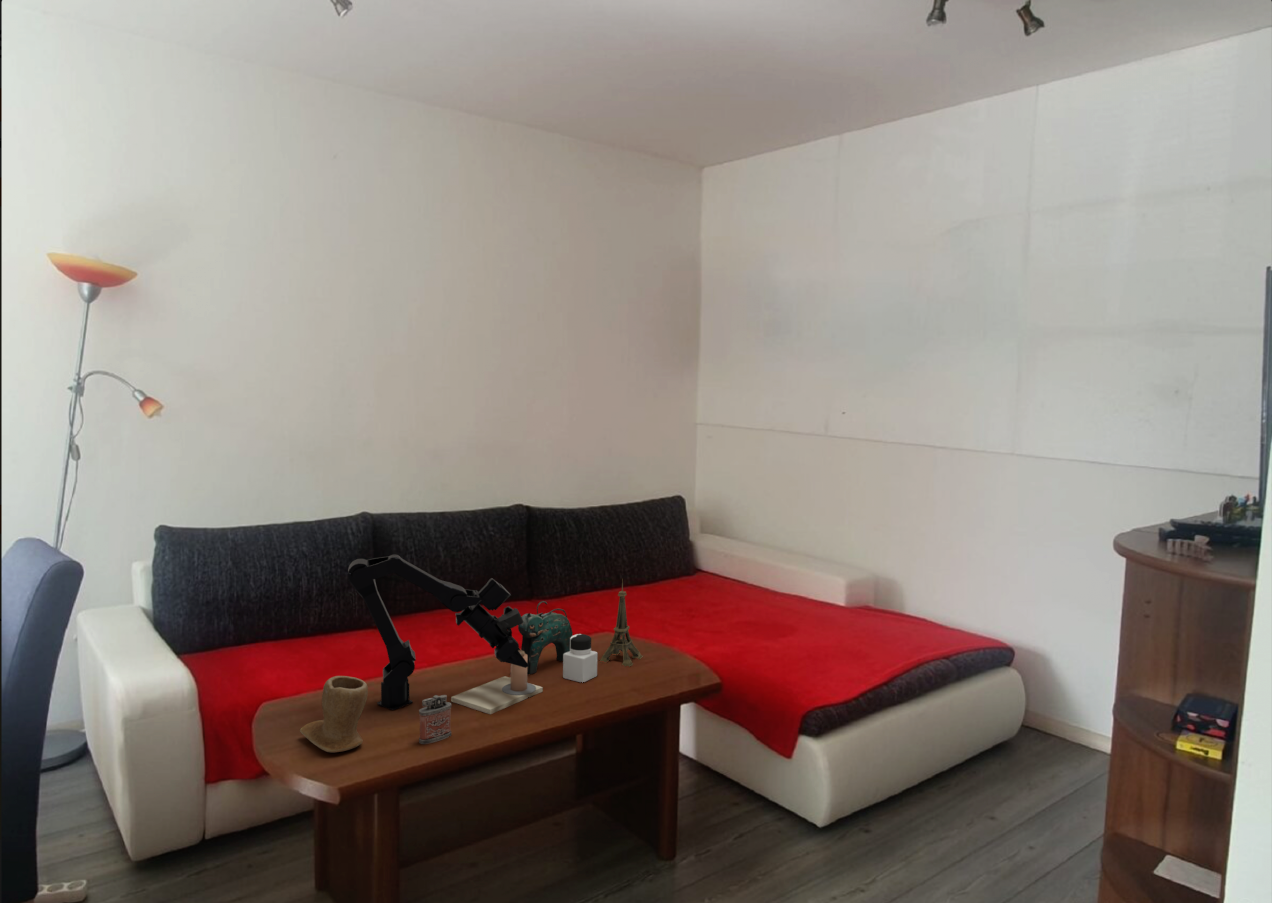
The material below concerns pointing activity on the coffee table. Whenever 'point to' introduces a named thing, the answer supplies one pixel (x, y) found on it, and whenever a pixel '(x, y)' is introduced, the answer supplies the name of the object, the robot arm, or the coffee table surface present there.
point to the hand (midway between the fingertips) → (524, 660)
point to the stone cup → (339, 715)
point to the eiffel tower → (622, 631)
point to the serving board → (494, 695)
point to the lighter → (435, 719)
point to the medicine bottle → (580, 659)
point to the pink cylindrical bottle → (519, 675)
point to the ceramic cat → (544, 635)
